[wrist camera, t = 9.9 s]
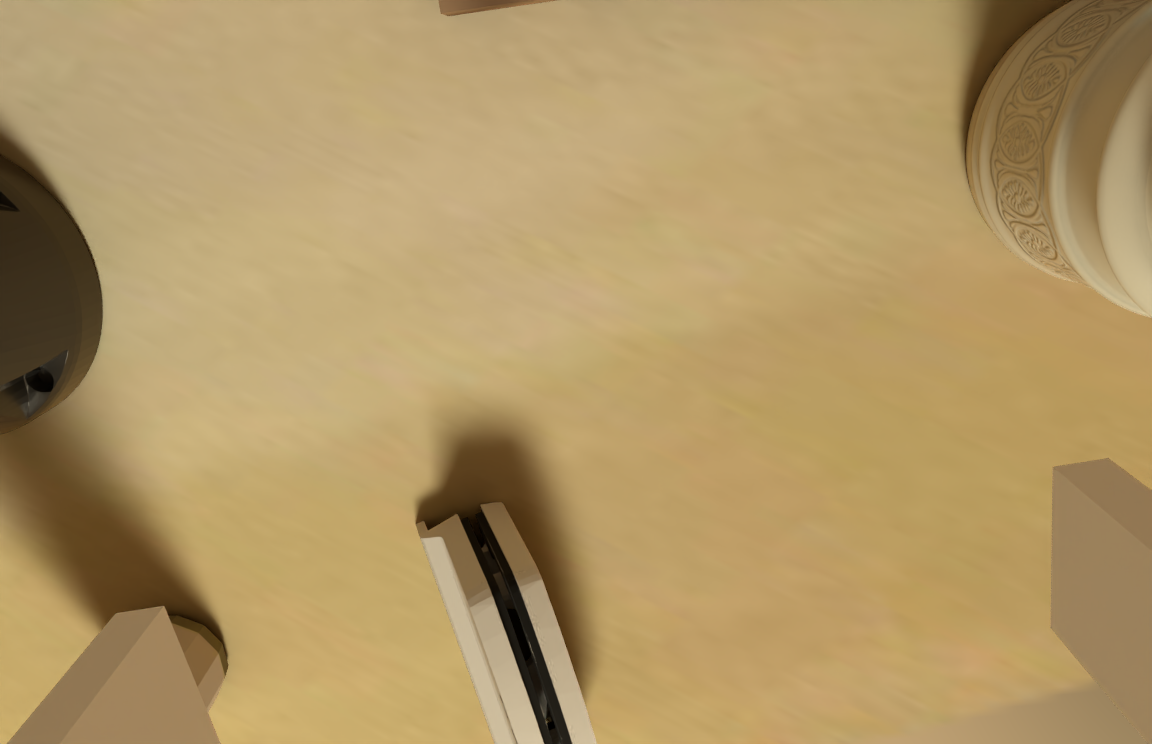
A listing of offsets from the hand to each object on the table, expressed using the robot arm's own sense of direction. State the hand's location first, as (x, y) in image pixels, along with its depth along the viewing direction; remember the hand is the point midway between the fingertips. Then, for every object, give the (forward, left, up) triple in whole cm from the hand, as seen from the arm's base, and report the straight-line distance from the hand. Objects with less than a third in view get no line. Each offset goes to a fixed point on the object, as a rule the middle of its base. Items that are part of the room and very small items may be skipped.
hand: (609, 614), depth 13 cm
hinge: (-7, -22, -31) cm, 39 cm away
